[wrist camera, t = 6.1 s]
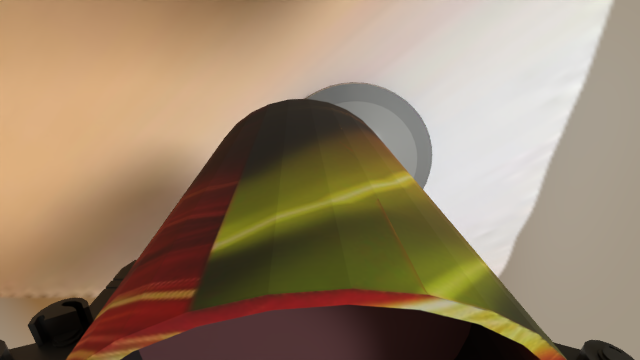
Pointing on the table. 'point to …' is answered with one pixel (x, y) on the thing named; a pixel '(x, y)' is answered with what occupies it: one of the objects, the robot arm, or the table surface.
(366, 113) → the plate
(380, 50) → the table surface
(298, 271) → the mug
